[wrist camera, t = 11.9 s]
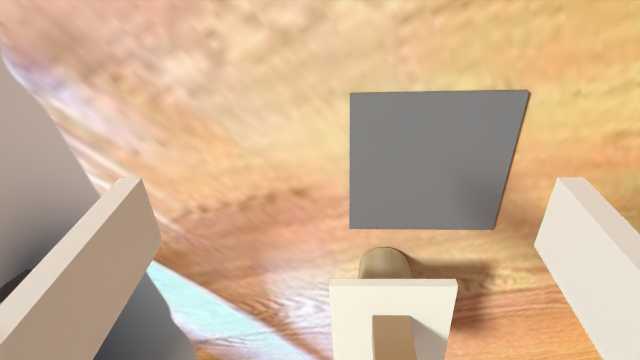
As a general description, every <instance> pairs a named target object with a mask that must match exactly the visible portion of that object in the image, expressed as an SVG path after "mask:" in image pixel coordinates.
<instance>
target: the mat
mask: <svg viewBox="0 0 640 360" xmlns="http://www.w3.org/2000/svg"><path fill="white" fill-rule="evenodd" d="M528 95H529V91H528V90H483V91H426V92H368V93H350V229H439V230H493V227H494V223H495V220H496V216H497V212H498V208H499V205H500V201H501V197H502V193H503V189H504V186H505V182H506V178H507V174H508V171H509V167H510V163H511V159H512V155H513V152H514V148H515V144H516V140H517V137H518V133H519V129H520V125H521V121H522V118H523V114H524V110H525V106H526V103H527V99H528Z"/></svg>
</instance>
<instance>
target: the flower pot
mask: <svg viewBox="0 0 640 360" xmlns="http://www.w3.org/2000/svg"><path fill="white" fill-rule="evenodd" d="M358 279H414V278H413V276H412V273H411V270H410V268H409V265H408V262H407V259H406V258H405V257H404V256H403V255H402V254H401V253H400V252H399V251H398V250H396V249H392V248H386V247H383V248H376V249H373V250H372V251H371V252H369V253H368V254H365V255H364V256H363V257H362V259H361V261H360V267H359V275H358Z"/></svg>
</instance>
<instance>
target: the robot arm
mask: <svg viewBox="0 0 640 360" xmlns="http://www.w3.org/2000/svg"><path fill="white" fill-rule="evenodd" d="M162 243H163V239H162V236H161V234H160V231H159V228H158V225H157V222H156V219H155V216H154V213H153V210H152V207H151V204H150V202H149V199H148V196H147V193H146V190H145V187H144V184H143V181H142V178H119V179H118V180H117V181H116V182H115V183H114V184H113V185H112V186H111V187H110V188H109V189H108V191H107V192H106V193H105V194H104V195H103V196H102V197H101V198H100V199H99V200H98V201H97V202H96V203H95V204H94V205H93V207H92V208H91V209H90V210H89V211H88V212H87V213H86V214H85V215H84V216H83V217H82V218H81V219H80V220H79V221H78V223H77V224H76V225H75V226H74V227H73V228H72V229H71V230H70V231H69V232H68V233H67V234H66V235H65V236H64V237H63V238H62V240H61V241H60V242H59V243H58V244H57V245H56V246H55V247H54V248H53V249H52V250H51V251H50V252H49V253H48V254H47V255H46V257H45V258H44V259H43V260H42V261H41V262H40V263H39V264H38V265H37V266H36V267H35V268H34V269H33V270H25V271H24V272H22V273H21V274H19V275H18V276H17V277H15V278H13V279H12V280H10V281H9V282H7V283H6V284H5V285H4V286H3V287H2V288H1V289H0V360H93V358H94V356H95V355H96V353H97V351H98V350H99V348H100V346H101V345H102V343H103V341H104V339H105V338H106V336H107V335H108V333H109V331H110V330H111V328H112V326H113V324H114V323H115V321H116V320H117V318H118V316H119V315H120V313H121V311H122V309H123V308H124V306H125V305H126V303H127V301H128V300H129V298H130V296H131V295H132V293H133V291H134V290H135V288H136V286H137V285H138V283H139V281H140V279H141V278H142V276H143V274H144V273H145V271H146V270H147V268H148V266H149V265H150V263H151V261H152V260H153V258H154V256H155V255H156V253H157V251H158V250H159V248H160V246H161V245H162ZM534 247H535V248H536V250H537V252H538V253H539V255H540V256H541V258H542V260H543V261H544V263H545V265H546V266H547V268H548V270H549V271H550V273H551V275H552V276H553V278H554V280H555V281H556V283H557V285H558V286H559V288H560V289H561V291H562V293H563V294H564V296H565V298H566V299H567V301H568V303H569V304H570V306H571V308H572V309H573V311H574V313H575V314H576V316H577V318H578V319H579V321H580V322H581V324H582V326H583V327H584V329H585V331H586V332H587V334H588V336H589V337H590V339H591V341H592V342H593V344H594V346H595V347H596V349H597V351H598V352H599V354H600V355H601V357H602V359H603V360H640V234H639V233H638V232H637V231H636V230H635V229H634V228H633V227H632V226H631V225H630V224H629V223H628V222H627V221H626V220H625V219H624V218H623V217H622V216H621V215H620V214H619V213H618V211H617V210H616V209H615V208H614V207H613V206H612V205H611V204H610V203H609V202H608V201H607V200H606V199H605V198H604V197H603V196H602V195H601V194H600V193H599V192H598V191H597V190H596V189H595V188H594V187H593V186H592V185H591V184H590V183H589V182H588V181H587V180H586V179H585V178H584V177H558V178H557V181H556V184H555V186H554V189H553V192H552V195H551V198H550V201H549V204H548V206H547V209H546V212H545V215H544V218H543V221H542V224H541V226H540V229H539V232H538V235H537V238H536V241H535V244H534Z"/></svg>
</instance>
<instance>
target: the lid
mask: <svg viewBox="0 0 640 360" xmlns="http://www.w3.org/2000/svg"><path fill="white" fill-rule="evenodd" d="M457 290H458V285H457V282H456V279H329V298H330V312H331V327H332V341H333V355H334V360H444V357H445V352H446V347H447V342H448V337H449V331H450V326H451V321H452V316H453V310H454V305H455V300H456V295H457Z"/></svg>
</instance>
